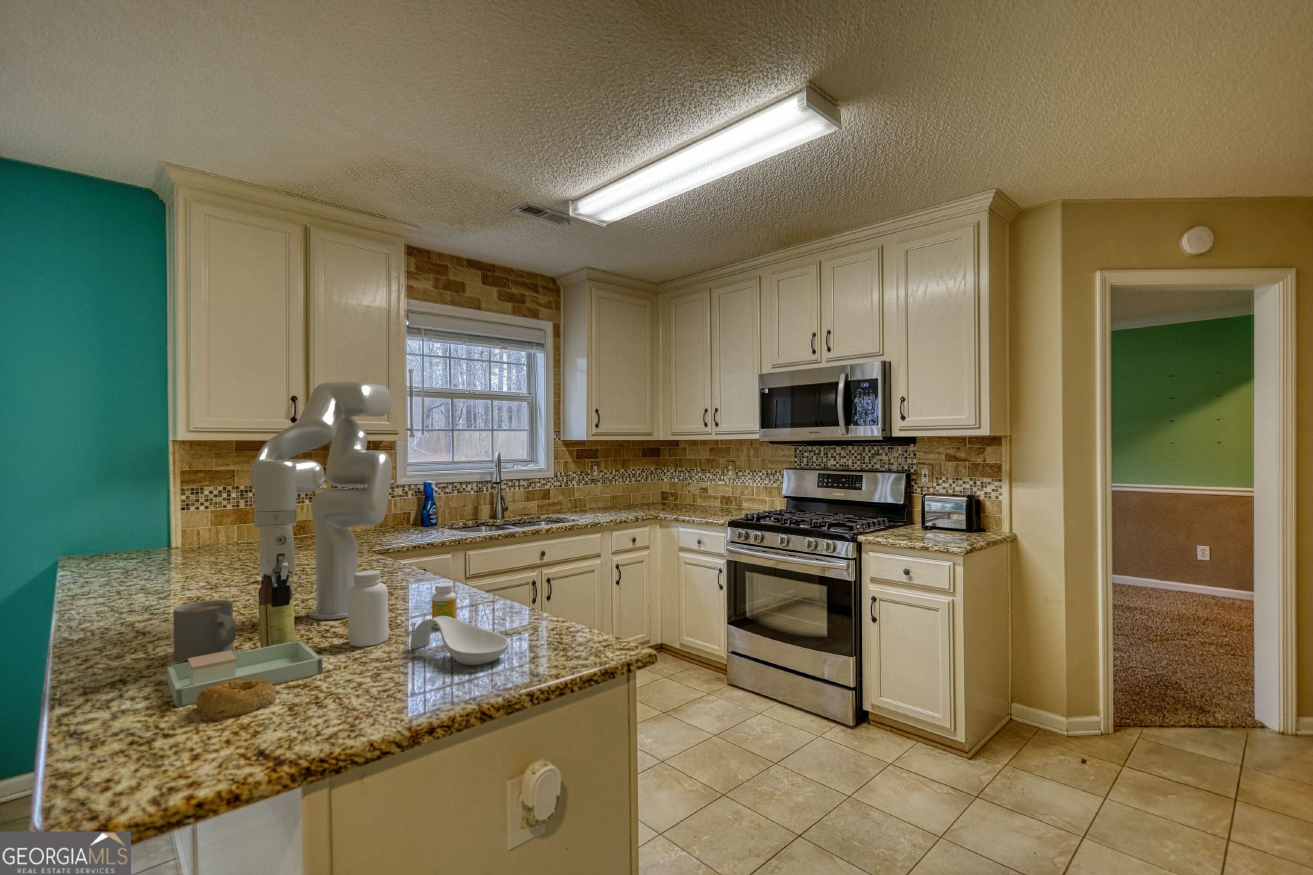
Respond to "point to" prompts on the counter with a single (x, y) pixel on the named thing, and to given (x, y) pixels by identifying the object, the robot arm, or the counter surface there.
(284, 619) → the sauce bottle
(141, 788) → the counter surface
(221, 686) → the bagel
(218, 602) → the coffee mug
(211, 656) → the pink lidded box
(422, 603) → the counter surface
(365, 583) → the pill bottle
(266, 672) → the pale green tray
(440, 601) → the supplement bottle
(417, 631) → the spoon rest
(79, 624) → the counter surface
